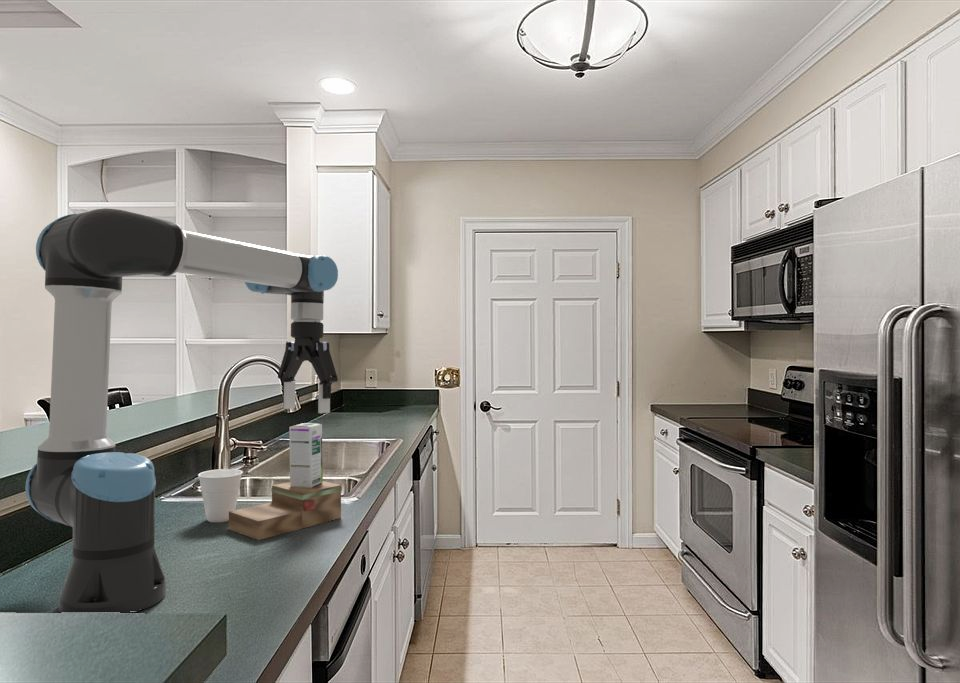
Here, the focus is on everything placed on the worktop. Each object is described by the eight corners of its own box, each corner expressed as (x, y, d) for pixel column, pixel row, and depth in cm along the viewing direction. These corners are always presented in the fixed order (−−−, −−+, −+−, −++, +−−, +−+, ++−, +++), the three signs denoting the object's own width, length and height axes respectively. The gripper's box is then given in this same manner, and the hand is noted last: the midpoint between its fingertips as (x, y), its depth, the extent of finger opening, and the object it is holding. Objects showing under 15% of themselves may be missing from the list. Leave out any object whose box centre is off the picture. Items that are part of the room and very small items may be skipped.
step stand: (260, 540, 138) (260, 503, 138) (228, 529, 146) (228, 493, 146) (343, 518, 155) (343, 485, 155) (310, 509, 163) (310, 477, 163)
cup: (191, 518, 154) (191, 472, 154) (233, 511, 161) (233, 467, 161) (206, 527, 147) (206, 479, 147) (249, 520, 154) (249, 473, 154)
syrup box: (311, 488, 152) (311, 426, 152) (288, 486, 153) (288, 425, 153) (323, 483, 157) (323, 423, 157) (300, 481, 159) (301, 422, 159)
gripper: (353, 321, 150) (352, 413, 150) (290, 322, 166) (289, 405, 166) (327, 320, 144) (326, 416, 144) (263, 321, 160) (262, 407, 160)
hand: (306, 410), depth 155 cm, fingers open, 13 cm apart
